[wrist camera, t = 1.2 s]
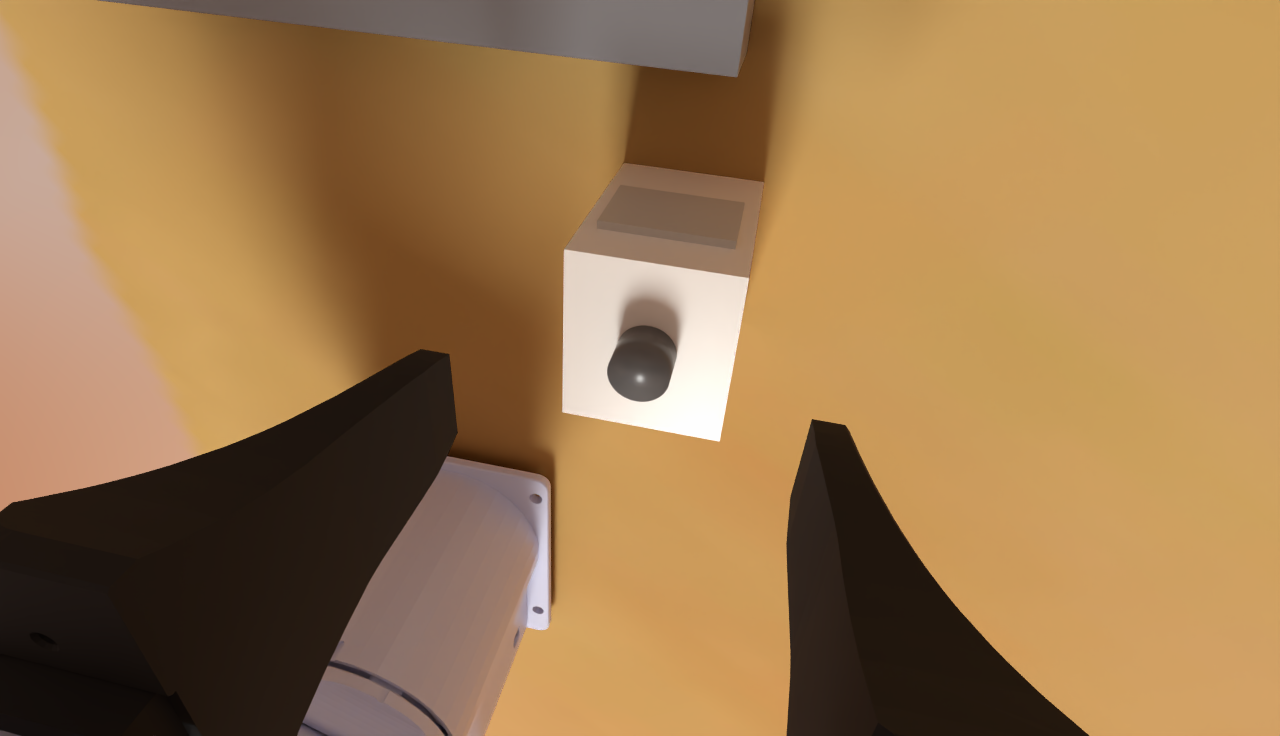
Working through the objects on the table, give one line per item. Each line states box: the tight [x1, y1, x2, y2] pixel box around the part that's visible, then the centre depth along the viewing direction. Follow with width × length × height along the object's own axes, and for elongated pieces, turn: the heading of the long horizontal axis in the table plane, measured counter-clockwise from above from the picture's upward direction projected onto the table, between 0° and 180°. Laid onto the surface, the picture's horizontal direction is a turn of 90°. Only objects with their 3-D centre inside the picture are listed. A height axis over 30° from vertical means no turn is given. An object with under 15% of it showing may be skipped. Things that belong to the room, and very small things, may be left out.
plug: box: [562, 163, 764, 441], centre depth 18 cm, size 5×4×7 cm
